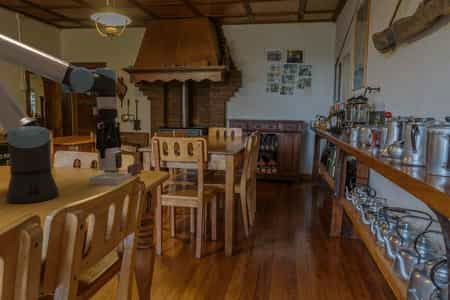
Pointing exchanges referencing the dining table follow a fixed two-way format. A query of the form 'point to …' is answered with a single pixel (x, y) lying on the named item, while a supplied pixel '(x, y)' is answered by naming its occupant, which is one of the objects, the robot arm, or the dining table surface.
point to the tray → (109, 178)
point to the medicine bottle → (112, 156)
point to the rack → (129, 169)
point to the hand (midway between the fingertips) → (110, 164)
